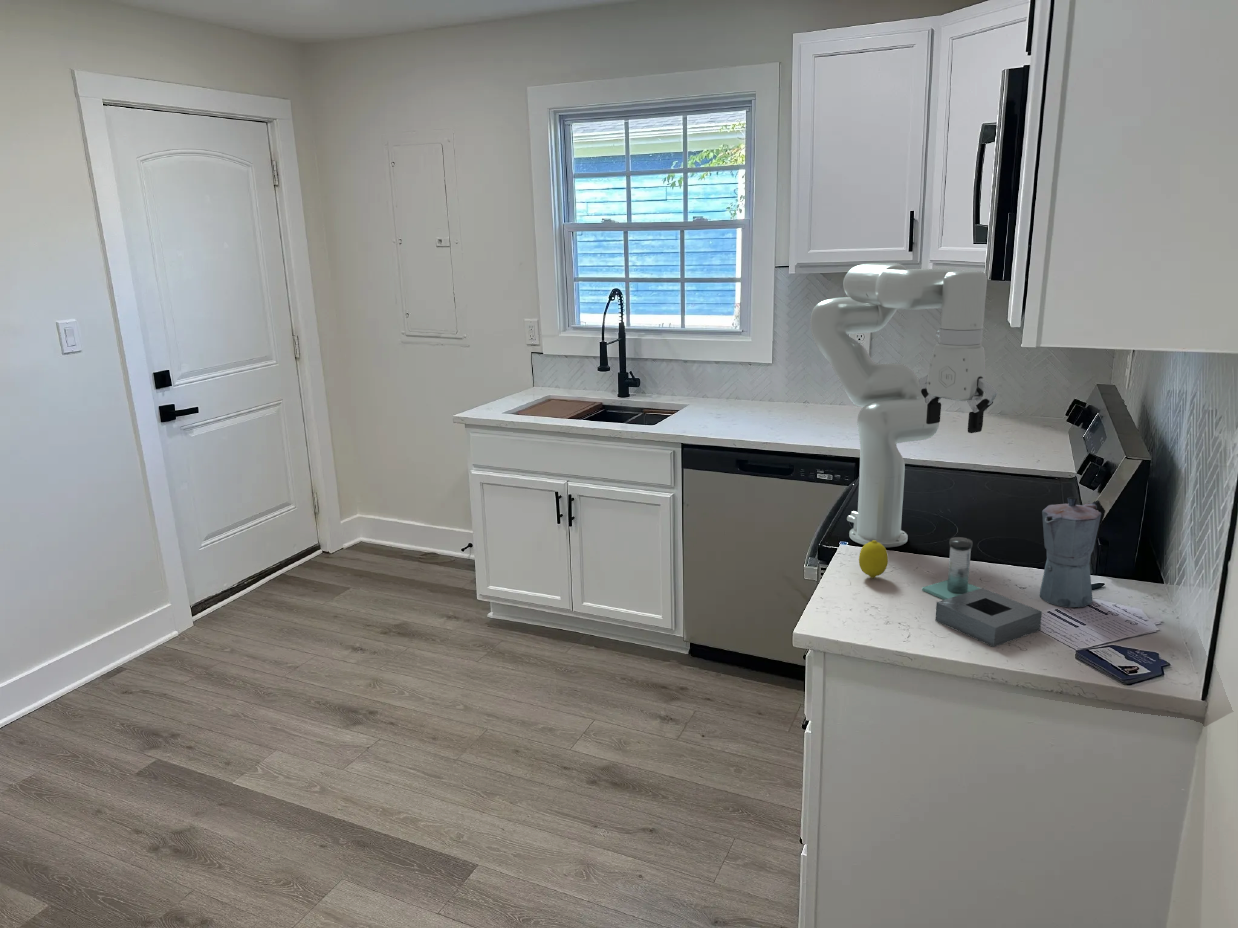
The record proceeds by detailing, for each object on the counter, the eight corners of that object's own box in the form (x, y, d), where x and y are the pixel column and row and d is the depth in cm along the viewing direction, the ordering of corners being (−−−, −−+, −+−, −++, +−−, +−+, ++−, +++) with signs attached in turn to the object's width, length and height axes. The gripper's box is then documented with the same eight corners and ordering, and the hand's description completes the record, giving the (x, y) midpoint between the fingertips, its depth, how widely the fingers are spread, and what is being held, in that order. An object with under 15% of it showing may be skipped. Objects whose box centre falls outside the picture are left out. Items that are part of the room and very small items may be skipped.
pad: (922, 590, 162) (922, 587, 162) (954, 580, 167) (954, 577, 166) (960, 606, 155) (961, 603, 155) (993, 596, 159) (993, 593, 159)
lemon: (881, 572, 172) (883, 535, 169) (890, 582, 166) (893, 544, 164) (854, 573, 171) (856, 536, 169) (862, 583, 166) (865, 545, 164)
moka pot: (1016, 598, 158) (1026, 496, 153) (1067, 581, 165) (1078, 483, 160) (1063, 616, 150) (1076, 509, 145) (1115, 597, 157) (1129, 495, 152)
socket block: (935, 620, 149) (936, 602, 149) (980, 605, 155) (982, 587, 154) (993, 647, 139) (995, 627, 138) (1040, 630, 145) (1042, 611, 144)
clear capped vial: (941, 588, 161) (945, 539, 159) (955, 584, 163) (959, 535, 161) (958, 596, 158) (962, 545, 155) (973, 591, 160) (977, 541, 157)
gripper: (910, 336, 163) (904, 422, 168) (986, 344, 149) (978, 438, 153) (937, 333, 167) (930, 418, 171) (1014, 340, 152) (1005, 433, 156)
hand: (953, 427), depth 162 cm, fingers open, 9 cm apart
